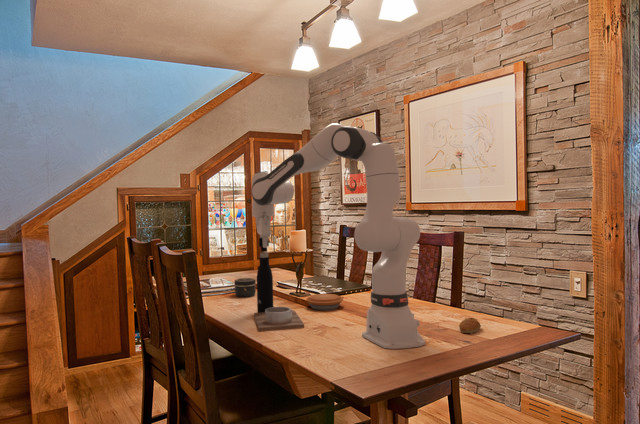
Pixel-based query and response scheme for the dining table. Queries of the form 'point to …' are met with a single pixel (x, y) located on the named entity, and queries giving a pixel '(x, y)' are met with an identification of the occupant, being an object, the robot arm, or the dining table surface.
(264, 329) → the walnut board
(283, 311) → the grey bowl
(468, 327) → the pastry
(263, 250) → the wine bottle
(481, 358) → the dining table surface
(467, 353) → the dining table surface
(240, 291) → the jar
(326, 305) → the pie
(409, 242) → the robot arm
